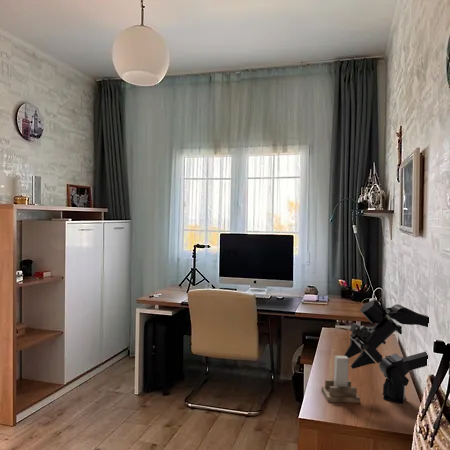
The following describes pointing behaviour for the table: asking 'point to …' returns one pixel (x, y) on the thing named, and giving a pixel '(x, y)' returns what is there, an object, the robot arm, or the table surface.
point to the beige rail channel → (340, 392)
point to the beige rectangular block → (341, 371)
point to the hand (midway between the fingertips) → (347, 363)
